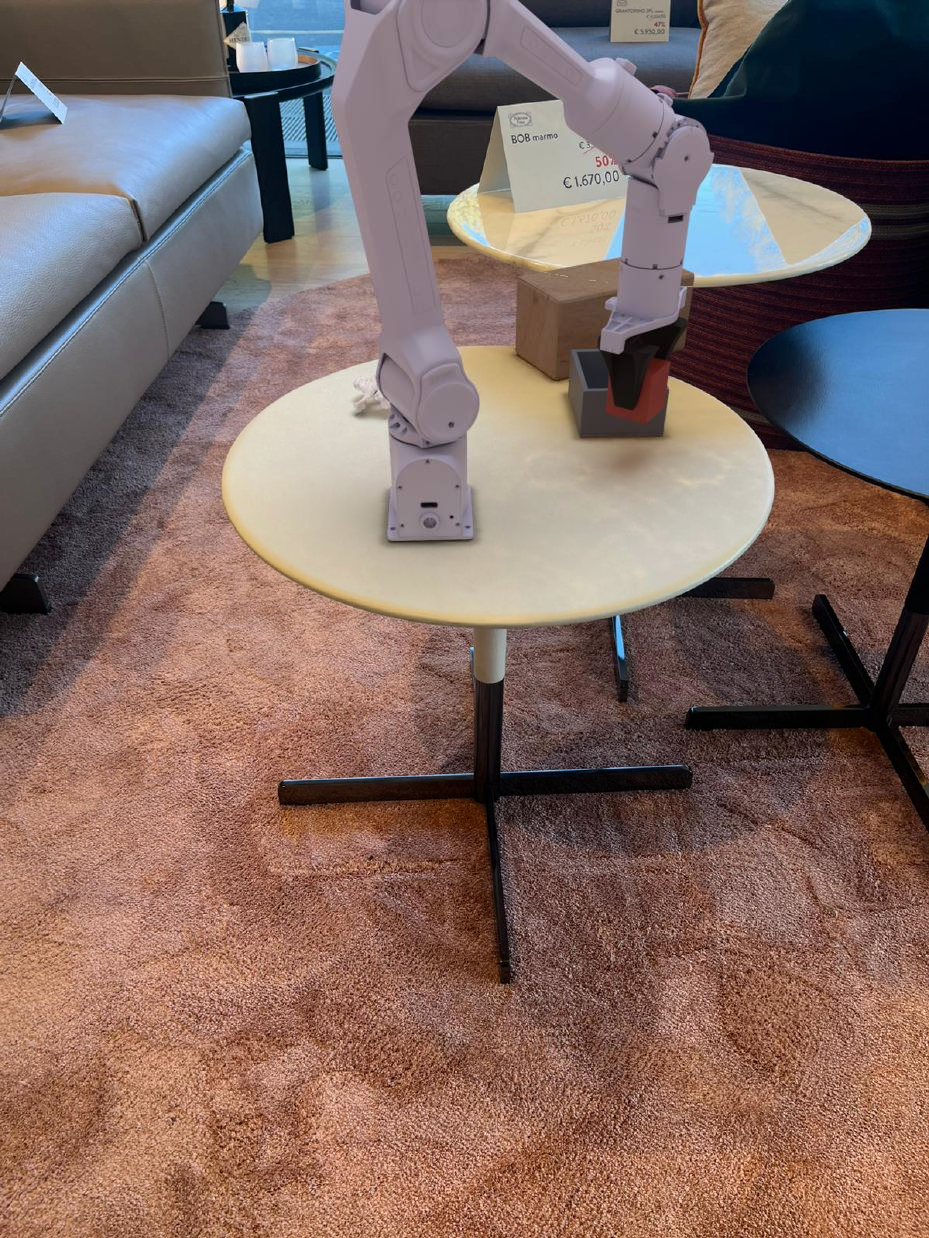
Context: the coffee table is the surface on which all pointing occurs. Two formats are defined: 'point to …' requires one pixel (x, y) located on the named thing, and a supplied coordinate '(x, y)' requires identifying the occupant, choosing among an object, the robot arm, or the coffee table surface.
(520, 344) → the wooden block
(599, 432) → the tub
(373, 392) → the white lumpy piece
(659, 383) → the block
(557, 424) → the coffee table surface
